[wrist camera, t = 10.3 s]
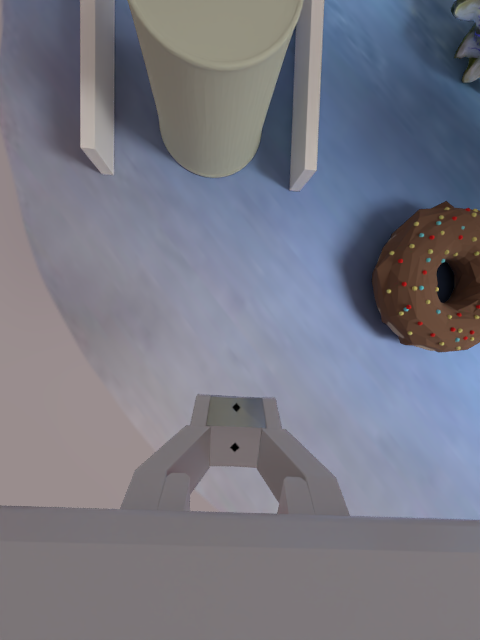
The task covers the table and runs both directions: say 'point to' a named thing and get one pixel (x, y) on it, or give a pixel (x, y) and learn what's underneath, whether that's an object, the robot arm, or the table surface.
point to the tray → (100, 87)
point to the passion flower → (469, 37)
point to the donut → (432, 279)
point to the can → (213, 74)
